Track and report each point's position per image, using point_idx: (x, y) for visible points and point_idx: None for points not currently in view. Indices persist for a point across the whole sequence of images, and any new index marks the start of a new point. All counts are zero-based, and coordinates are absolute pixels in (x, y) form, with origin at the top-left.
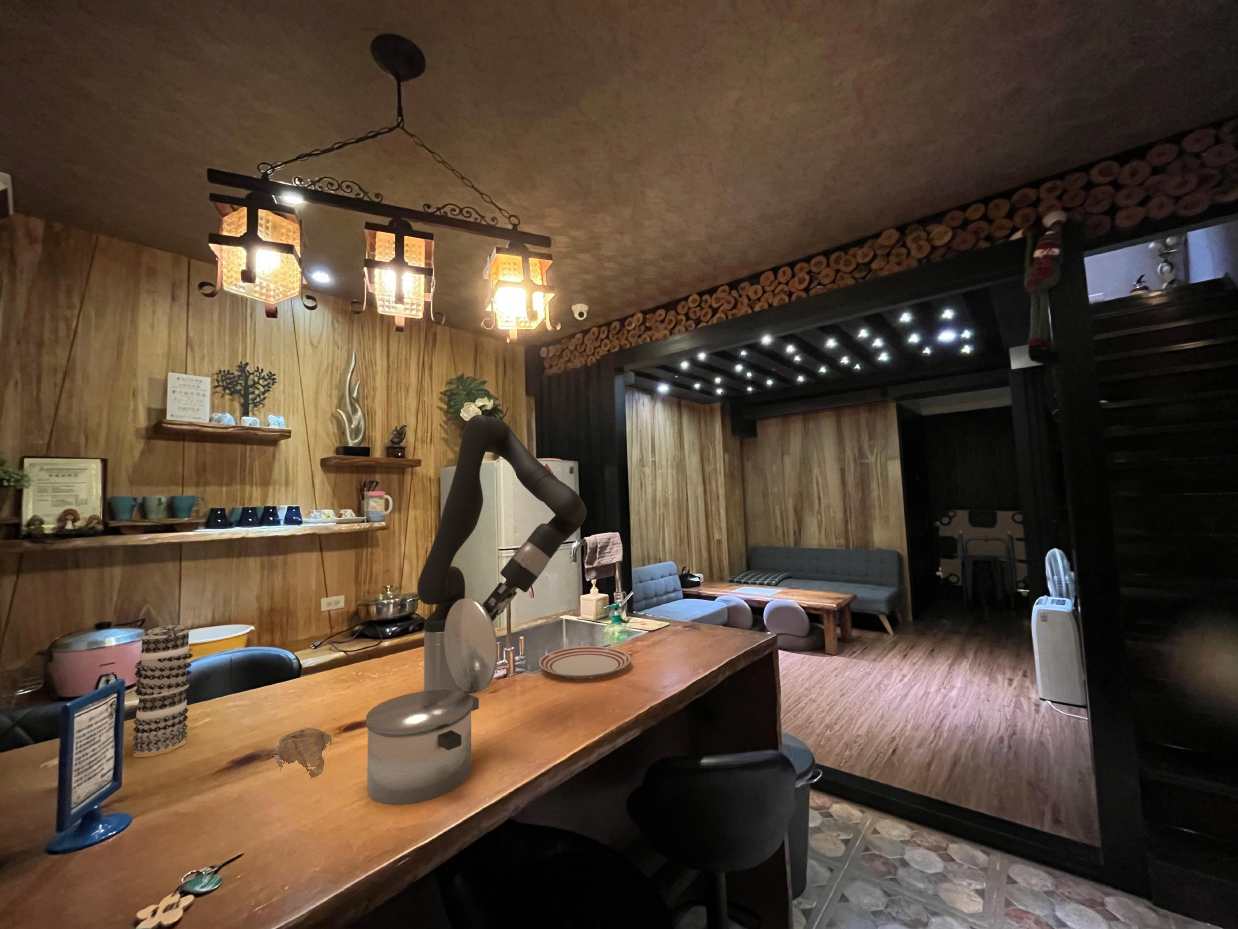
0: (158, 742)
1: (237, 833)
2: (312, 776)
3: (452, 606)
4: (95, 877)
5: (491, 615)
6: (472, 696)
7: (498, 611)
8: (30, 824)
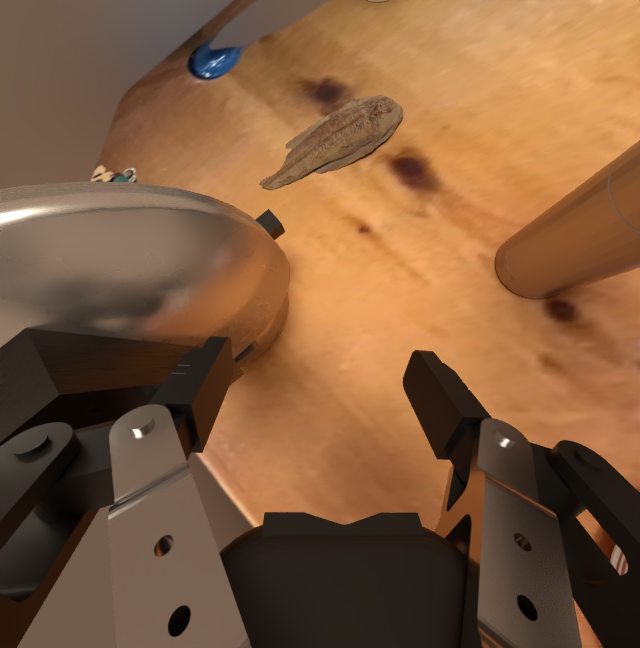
0: None
1: (175, 172)
2: (263, 184)
3: (85, 185)
4: (149, 109)
5: (440, 424)
6: (236, 360)
7: (448, 487)
8: (240, 4)
